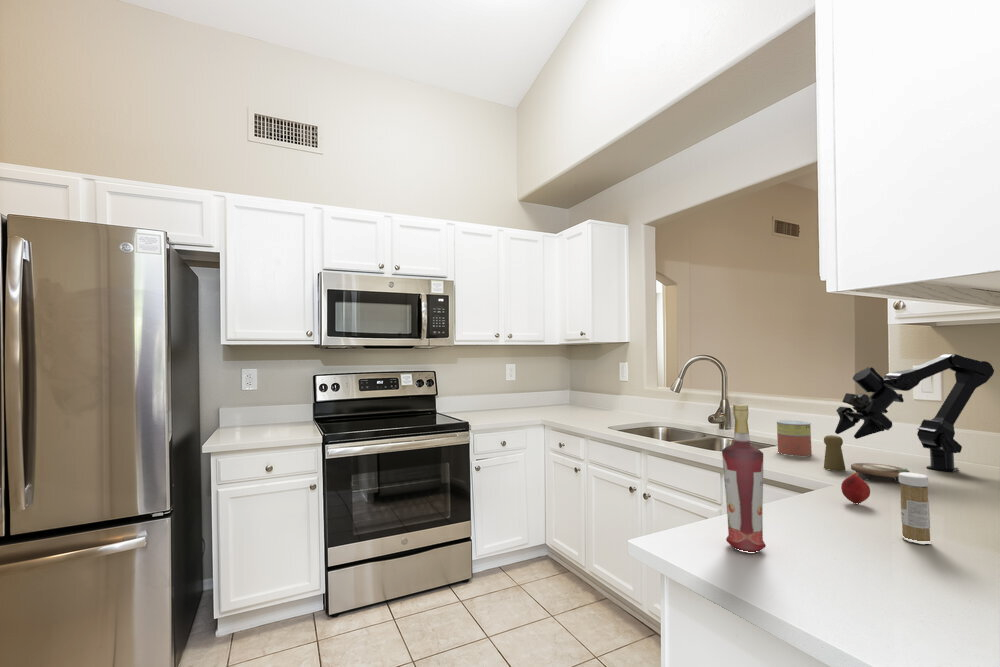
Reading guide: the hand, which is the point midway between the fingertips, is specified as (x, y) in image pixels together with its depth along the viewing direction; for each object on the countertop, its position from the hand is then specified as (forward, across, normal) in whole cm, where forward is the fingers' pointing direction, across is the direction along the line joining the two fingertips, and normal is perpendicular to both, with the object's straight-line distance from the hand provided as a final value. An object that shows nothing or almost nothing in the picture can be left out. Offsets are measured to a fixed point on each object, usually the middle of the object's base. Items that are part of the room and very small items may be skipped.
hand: (845, 435), depth 156 cm
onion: (+24, +38, -8) cm, 46 cm away
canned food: (+10, -26, +6) cm, 28 cm away
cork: (+11, 0, +5) cm, 12 cm away
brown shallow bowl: (+6, +12, +9) cm, 16 cm away
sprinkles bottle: (+28, +62, -12) cm, 69 cm away
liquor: (+53, +67, -37) cm, 93 cm away
